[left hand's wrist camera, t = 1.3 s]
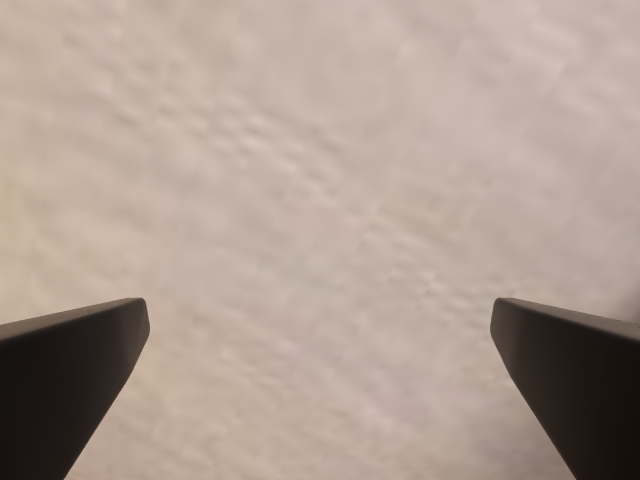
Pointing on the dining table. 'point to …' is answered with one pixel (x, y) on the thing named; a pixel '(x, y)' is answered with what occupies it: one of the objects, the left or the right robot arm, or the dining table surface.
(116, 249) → the dining table surface
